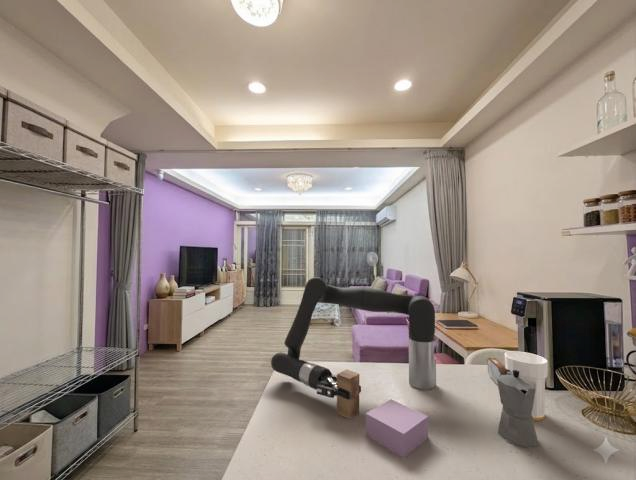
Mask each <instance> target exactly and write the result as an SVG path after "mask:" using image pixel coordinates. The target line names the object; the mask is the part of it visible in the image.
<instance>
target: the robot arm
mask: <svg viewBox="0 0 636 480" xmlns="http://www.w3.org/2000/svg"><path fill="white" fill-rule="evenodd" d="M318 304H331V305H340V306H343V307H347V308H352V309H356V310H360V311H365V312H370V313H371V312H373V313H398V314H403V315H406V316H408V384H409V385H410V386H411V387H413V388H415V389H419V390H425V391H426V390H427V391H429V390H432V389H434V388H435V386H436V385H437V360H436V359H435V333H436V311H435V310H436V309H435V306H434V304H433V303H432V301H431V300H430V299H429V298H427V297H425V296H423V295H411V294H410V295H409V294H398V293H395V292H389V291H385V290H382V289H375V288H371V287H364V286H347V287H337V286H334V285H330V284H327V283H326V282H325V280H324V279H323V278H321V277H317V276H315V277H311V278H310V279H309V280H307V282H306V284H305V286H304V291H303V294H302V297H301V301H300V304H299V307H298V310H297V312H296V315H295V317H294V320H293V322H292V324H291V326H290V329H289V331H288V332H287V335H286V338H285V339H284V346H285V347H286V348H287V353H284V352H277V353H275V354H274V355H272V357H271V361H270V364H271V368H272V370H274V371H275V372H276V373H279V374H280V375H281V374H282V375H284V376H287V377H291V378H292V379H293V380H295V381H297V382H300V383H302V384H304V385H305V386H307V387H309V388H311V389H313V390H316V394H317V395H320V396H324V397H326V398H330V399H334V398H335V397H336V398H337V397H338V396H341V397H343V398H345V399H348V400H349V399H350V392H349V391H347V390H344V389H342V388H340V389H339V387H338V386H337V374H333V373H332V372H331V370H330V369H329V368H327V367H324V366H322V365H319V364H316V363H314V362H309V361H306V360H303V359H300V356H301V350H302V346H303V344H304V341H305V339H306V337H307V334H308V331H309V328H310V325H311V320H312V316H313V314H314V312H315V308H316V307H317V305H318ZM274 371H273V372H274ZM361 392H362V386H361V385H360V384H359V394H361Z"/></svg>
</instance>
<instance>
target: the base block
mask: <svg viewBox="0 0 636 480" xmlns="http://www.w3.org/2000/svg"><path fill="white" fill-rule="evenodd" d="M365 436H368V437H369V438H370V439H372V440H374V441H375V442H376V443H379V444H380V445H382V446H383V447H385V448H386V449H388V450H390V451H391V452H393V453H395V454H396V455H398V456H400V457H401V458H402V459H403V458H404V459H405V458H406V456H408V455H409V454H410V453H412V452H413V451H414V450H415V449H417V448H418V447H419V446H420V445H421V444H423V443H424V442H425V441H426V440H427V439H428V438H429V415H426V414H424V413H422V412H420V411H418V410H415V409H413V408H411V407H408V406H406V405H404V404H402V403H400V402H398V401H396V400H393V399H391V398H390V399H389V400H387V401H385V402H384V403H382V404H380V405H378V406H376V407H374V408H372V409H371V410H369V411H367V412H365Z"/></svg>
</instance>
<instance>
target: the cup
mask: <svg viewBox="0 0 636 480" xmlns="http://www.w3.org/2000/svg"><path fill="white" fill-rule="evenodd" d="M504 366H505V368H506V370H507V369H508V370H510V371H511V372H513V370H517V371H519V377H523V378H526V379H528V380H530V381H532V382H534V383H535V384H536V390H535V397H534V403H533V410H532V416H533V421H534V422H535V421H536V422H537V421H542V420H544V419H545V414H546V413H545V410H546V408H545V407H546V405H545V404H546V403H545V402H546V378H548V373H549V372H548V371H549V370H548V369H549V368H548V367H549V365H548V359H546V357H543V356H540V355H538V354H534V353H531V352H525V351H518V350H513V351H512V350H510V351H505V352H504Z"/></svg>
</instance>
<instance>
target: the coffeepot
mask: <svg viewBox="0 0 636 480" xmlns="http://www.w3.org/2000/svg"><path fill="white" fill-rule="evenodd" d="M497 382H498V385H497V387H498V393H499V397H500V399H499V400H500V404H501V405H502V409H501V413H500V414H501V415H500V418H499V419H500V420H499V426H498V429H497V432H498V434H499V436H500V435H501V436H502V437H503V438H502V437H501V436H500V437H501V438H502V439H504V440H505V439H506V440H507V441H506V440H505V441H506V442H508V441H509V442H508V443H510V442H511V443H510V444H512V443H513V444H512V445H514V444H515V446H517V445H518V446H517V447H521V446H522V448H534V447H537V445H538V437H537V436H538V435H537V431H536V428H535V427H536V426H535V420H533V416H532V410H533V403H534V397H535V390H536V384H535V383H534V382H532V381H530V380H528V379H526V378H523V377H519V371H517V370H513V372H511V371H510V370H508V369H506V370H505V372H504V375H499V376H498V378H497Z"/></svg>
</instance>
